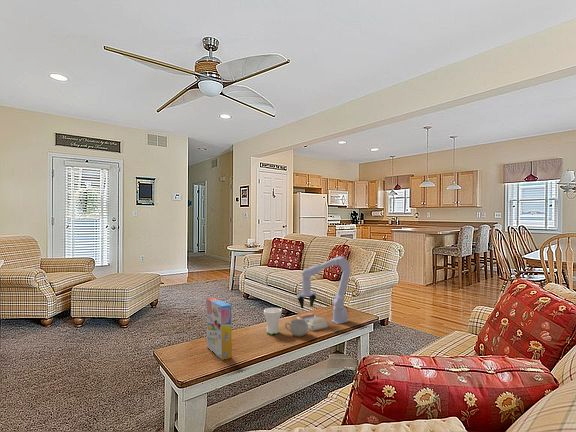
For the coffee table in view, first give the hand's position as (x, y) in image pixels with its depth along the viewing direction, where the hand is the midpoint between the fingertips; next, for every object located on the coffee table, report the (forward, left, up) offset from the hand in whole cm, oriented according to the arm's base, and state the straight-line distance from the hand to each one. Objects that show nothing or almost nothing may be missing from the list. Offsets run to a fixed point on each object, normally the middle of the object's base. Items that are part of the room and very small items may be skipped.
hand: (306, 307), depth 224 cm
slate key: (0, +6, -8) cm, 10 cm away
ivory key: (0, +12, -7) cm, 14 cm away
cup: (+29, +6, -10) cm, 31 cm away
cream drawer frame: (0, +6, -10) cm, 12 cm away
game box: (+67, +17, -11) cm, 70 cm away
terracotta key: (0, 0, -7) cm, 7 cm away
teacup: (+18, +16, -11) cm, 26 cm away
